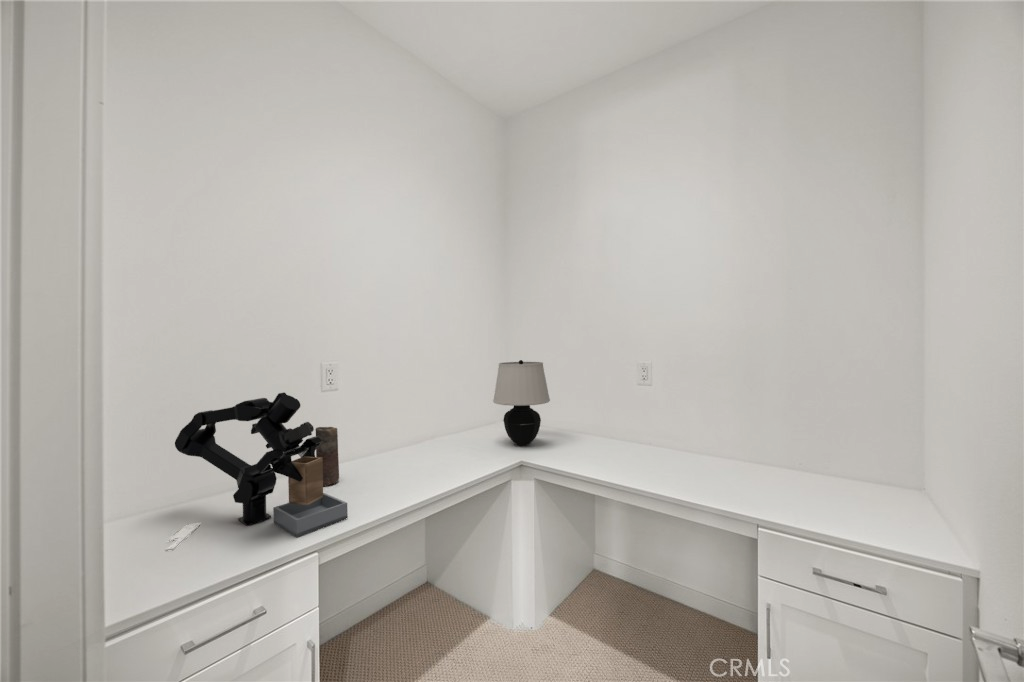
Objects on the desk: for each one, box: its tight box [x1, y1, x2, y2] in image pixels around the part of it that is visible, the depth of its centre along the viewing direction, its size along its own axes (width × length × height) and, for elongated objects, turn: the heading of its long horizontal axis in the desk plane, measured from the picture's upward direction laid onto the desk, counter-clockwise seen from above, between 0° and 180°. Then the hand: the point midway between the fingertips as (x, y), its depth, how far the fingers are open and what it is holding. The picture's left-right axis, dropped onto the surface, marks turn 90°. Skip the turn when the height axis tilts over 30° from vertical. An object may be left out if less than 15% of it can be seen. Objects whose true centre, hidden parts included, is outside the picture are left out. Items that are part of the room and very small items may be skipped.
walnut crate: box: [287, 456, 324, 505], centre depth 114 cm, size 6×6×11 cm
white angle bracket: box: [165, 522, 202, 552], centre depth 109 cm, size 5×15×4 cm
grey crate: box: [272, 492, 349, 539], centre depth 117 cm, size 14×14×4 cm
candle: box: [315, 426, 340, 487], centre depth 148 cm, size 8×7×20 cm
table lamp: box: [492, 359, 551, 446], centre depth 197 cm, size 27×27×40 cm
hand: (309, 476), depth 114 cm, fingers closed on walnut crate, 6 cm apart
